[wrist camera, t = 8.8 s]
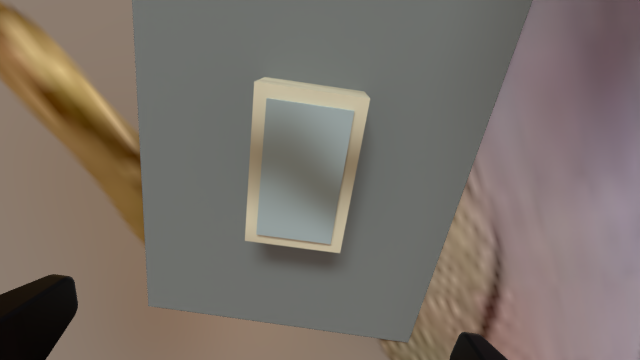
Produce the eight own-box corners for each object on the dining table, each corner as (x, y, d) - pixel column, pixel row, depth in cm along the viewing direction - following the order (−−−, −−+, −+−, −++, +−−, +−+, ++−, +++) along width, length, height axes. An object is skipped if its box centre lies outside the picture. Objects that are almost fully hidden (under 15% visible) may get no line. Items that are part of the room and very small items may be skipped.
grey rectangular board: (551, -69, 14) (559, -73, 13) (406, 336, 23) (407, 342, 22) (130, -151, 13) (123, -159, 13) (152, 300, 22) (148, 305, 22)
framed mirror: (338, 228, 19) (340, 255, 17) (254, 217, 19) (243, 243, 16) (364, 91, 16) (370, 99, 14) (264, 76, 16) (253, 81, 13)
